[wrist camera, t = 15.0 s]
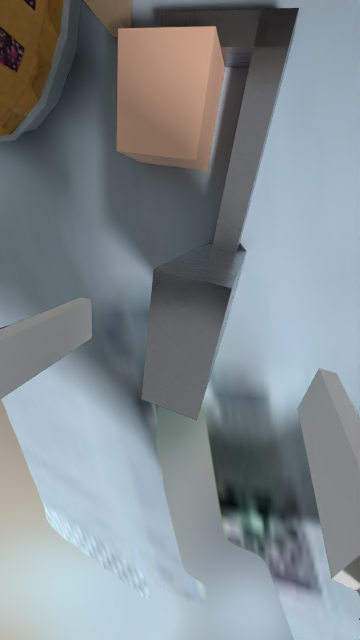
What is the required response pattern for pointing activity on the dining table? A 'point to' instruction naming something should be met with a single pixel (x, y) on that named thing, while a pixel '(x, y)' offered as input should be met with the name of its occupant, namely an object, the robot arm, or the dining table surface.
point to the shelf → (112, 13)
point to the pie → (34, 60)
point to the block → (168, 94)
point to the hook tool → (223, 255)
